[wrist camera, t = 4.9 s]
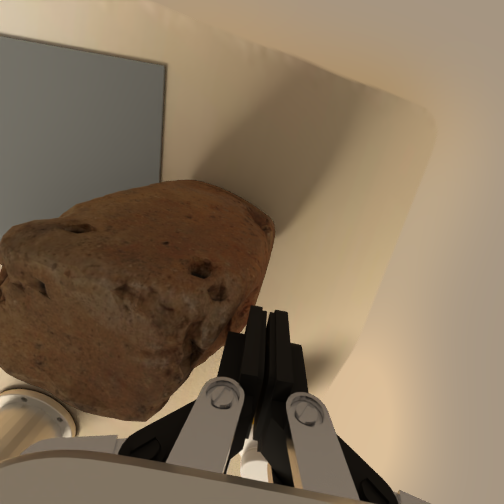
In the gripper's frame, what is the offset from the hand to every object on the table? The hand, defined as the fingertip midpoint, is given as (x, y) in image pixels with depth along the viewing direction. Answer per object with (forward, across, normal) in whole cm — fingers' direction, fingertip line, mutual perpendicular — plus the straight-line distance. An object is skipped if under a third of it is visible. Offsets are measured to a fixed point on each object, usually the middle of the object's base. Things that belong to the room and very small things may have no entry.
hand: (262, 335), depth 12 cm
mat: (+17, +23, -1) cm, 29 cm away
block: (+17, +4, 0) cm, 18 cm away
